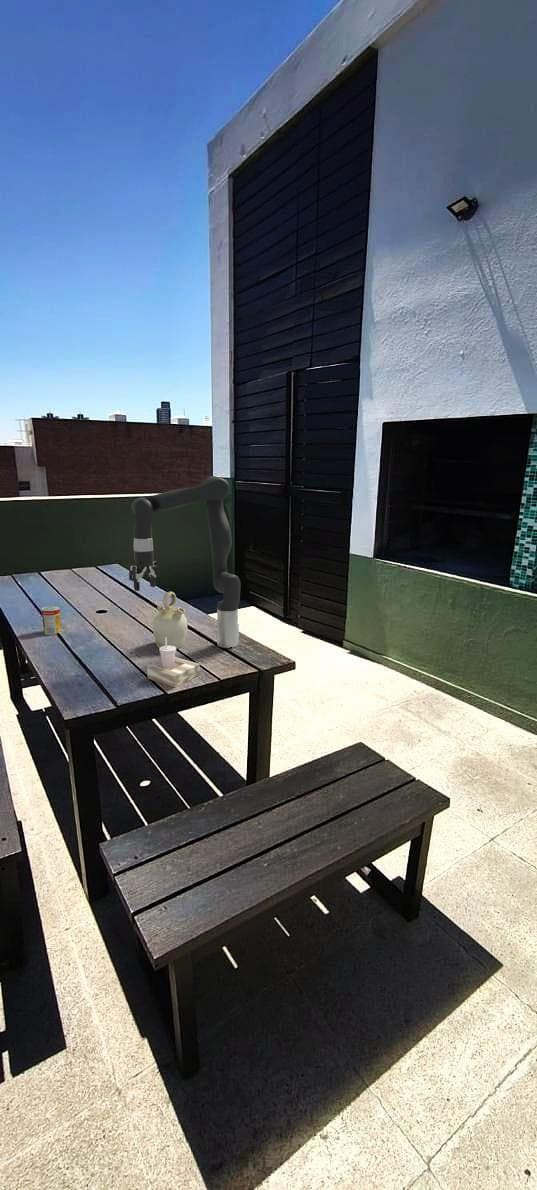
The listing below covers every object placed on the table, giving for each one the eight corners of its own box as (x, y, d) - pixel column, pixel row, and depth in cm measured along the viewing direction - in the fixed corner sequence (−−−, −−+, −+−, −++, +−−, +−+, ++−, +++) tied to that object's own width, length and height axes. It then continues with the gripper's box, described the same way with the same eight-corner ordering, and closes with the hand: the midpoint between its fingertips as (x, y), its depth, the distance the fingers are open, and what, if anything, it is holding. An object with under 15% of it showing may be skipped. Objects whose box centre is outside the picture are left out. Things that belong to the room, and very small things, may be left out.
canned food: (62, 629, 238) (60, 605, 235) (61, 634, 231) (59, 610, 228) (44, 630, 236) (42, 606, 233) (43, 635, 229) (40, 611, 226)
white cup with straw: (161, 668, 192) (159, 634, 188) (177, 668, 192) (176, 634, 189) (159, 675, 185) (157, 640, 182) (176, 674, 186) (175, 640, 182)
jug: (194, 645, 222) (193, 591, 215) (166, 653, 211) (164, 597, 204) (174, 636, 232) (173, 585, 225) (146, 644, 221) (144, 591, 214)
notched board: (172, 666, 197) (172, 656, 196) (199, 674, 190) (199, 664, 189) (147, 678, 186) (147, 667, 185) (175, 687, 179) (175, 676, 178)
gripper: (136, 552, 186) (138, 593, 190) (163, 548, 198) (164, 586, 202) (123, 550, 190) (125, 590, 194) (149, 546, 202) (151, 584, 206)
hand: (145, 588), depth 198 cm, fingers open, 8 cm apart
